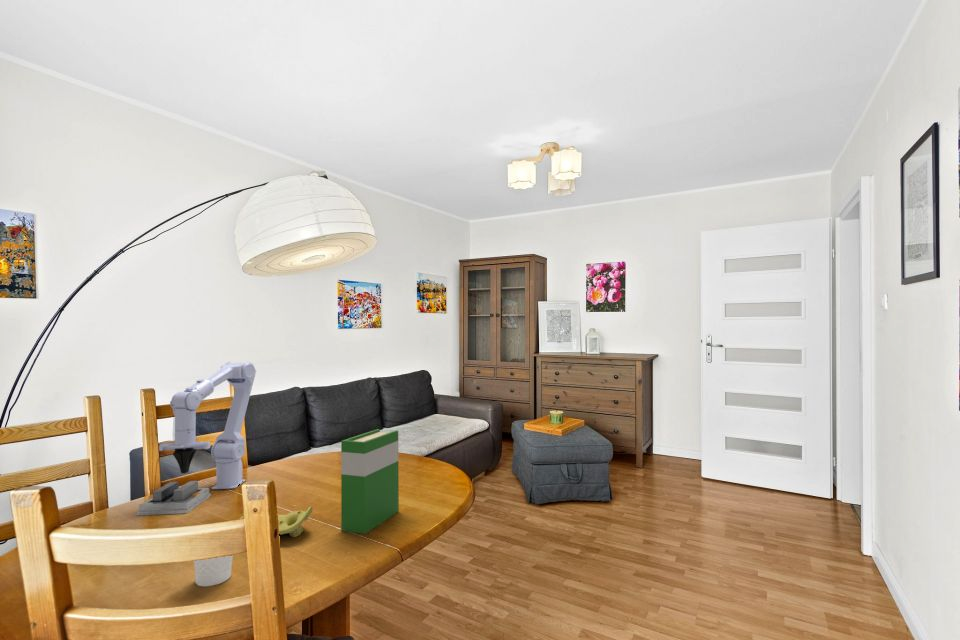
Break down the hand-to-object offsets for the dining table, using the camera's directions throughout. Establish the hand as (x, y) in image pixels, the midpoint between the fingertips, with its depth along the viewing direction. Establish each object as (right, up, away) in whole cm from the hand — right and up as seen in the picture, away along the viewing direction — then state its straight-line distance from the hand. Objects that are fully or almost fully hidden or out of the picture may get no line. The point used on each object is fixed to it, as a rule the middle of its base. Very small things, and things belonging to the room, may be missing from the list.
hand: (184, 472), depth 153 cm
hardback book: (+63, -9, -16) cm, 66 cm away
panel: (+1, -9, -1) cm, 9 cm away
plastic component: (+39, -9, -25) cm, 47 cm away
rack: (-2, -10, -2) cm, 10 cm away
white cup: (+36, -8, -49) cm, 61 cm away
